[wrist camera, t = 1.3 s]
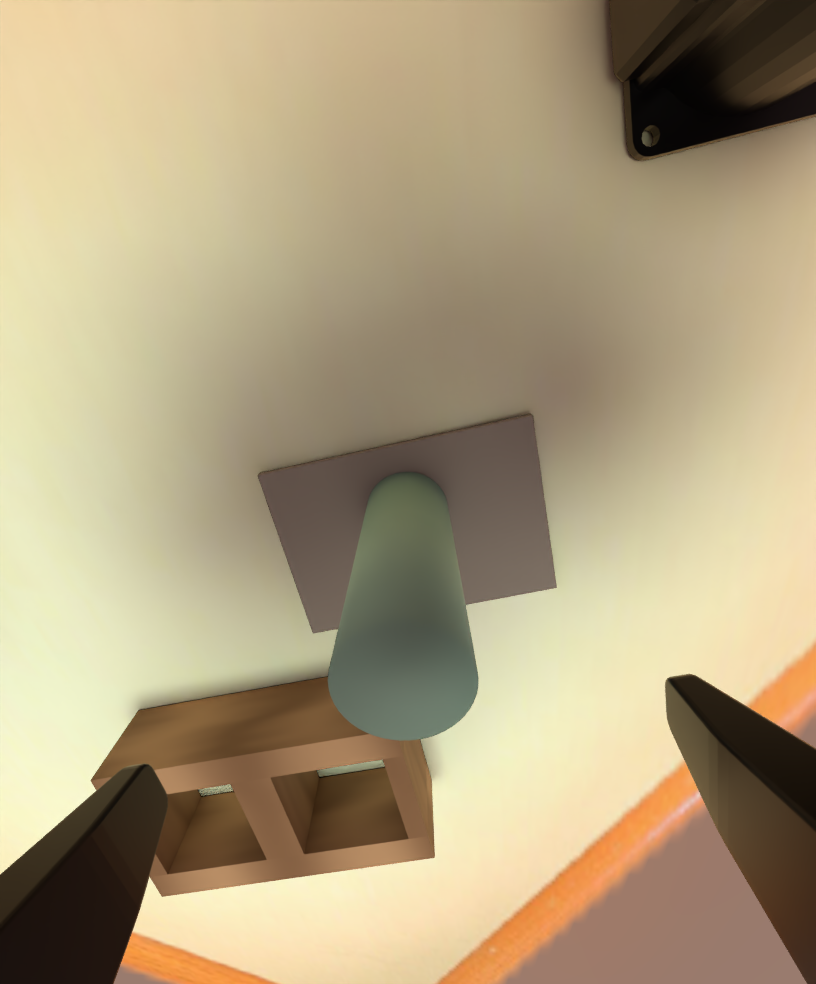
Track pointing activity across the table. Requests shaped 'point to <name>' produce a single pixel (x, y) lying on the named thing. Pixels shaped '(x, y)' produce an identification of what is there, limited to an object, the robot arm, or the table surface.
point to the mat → (471, 503)
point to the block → (274, 789)
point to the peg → (404, 619)
